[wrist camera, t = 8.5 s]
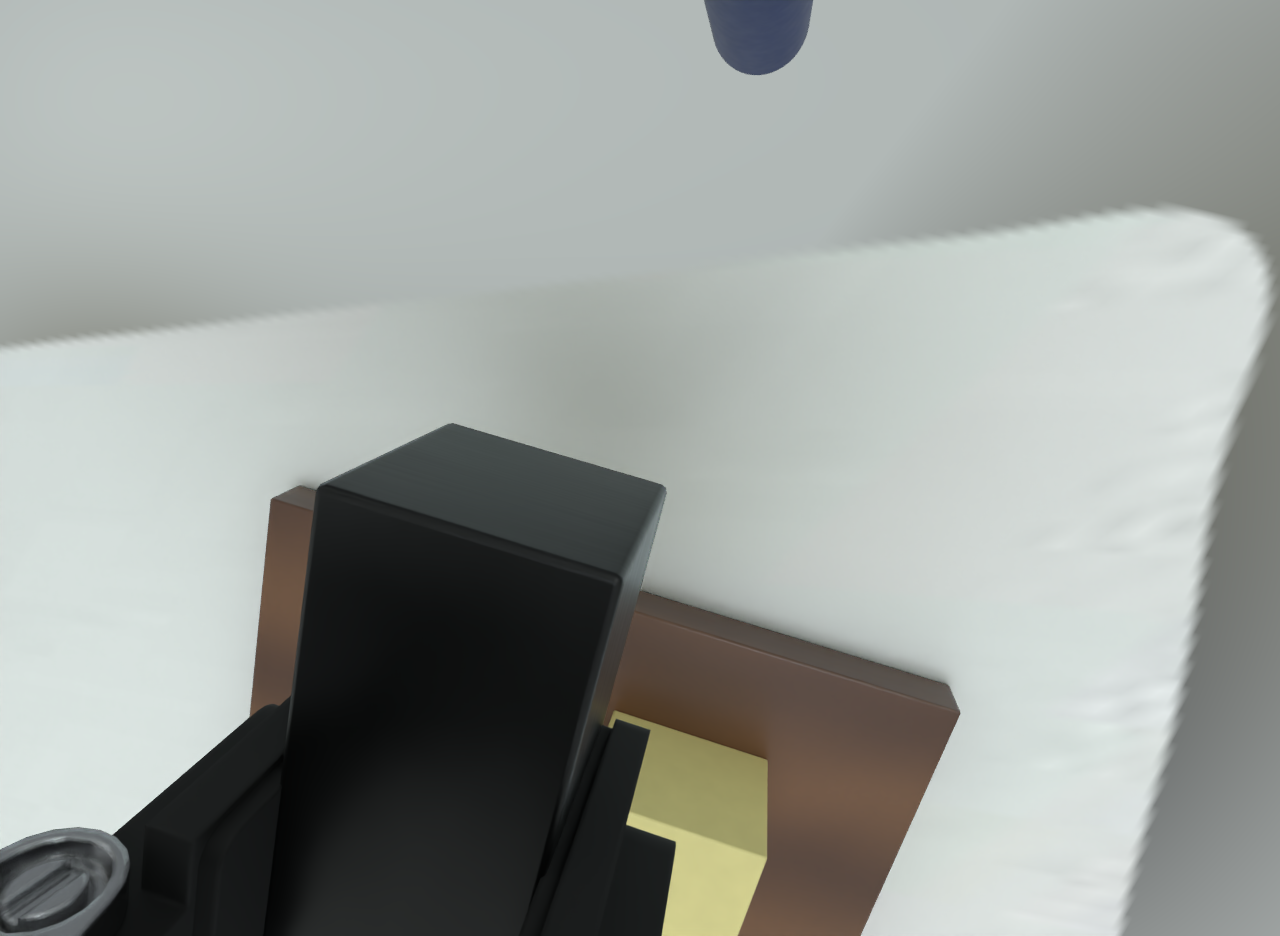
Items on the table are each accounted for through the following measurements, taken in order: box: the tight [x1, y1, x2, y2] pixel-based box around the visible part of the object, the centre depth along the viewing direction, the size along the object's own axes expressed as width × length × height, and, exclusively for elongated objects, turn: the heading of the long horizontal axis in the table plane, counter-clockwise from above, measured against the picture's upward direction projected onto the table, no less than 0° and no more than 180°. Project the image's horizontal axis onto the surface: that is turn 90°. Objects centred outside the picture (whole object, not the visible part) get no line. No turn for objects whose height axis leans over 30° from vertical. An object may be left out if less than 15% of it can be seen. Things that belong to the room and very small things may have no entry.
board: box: [250, 486, 960, 936], centre depth 25 cm, size 14×22×2 cm, turn 76°
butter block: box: [608, 711, 768, 936], centre depth 22 cm, size 7×5×4 cm
